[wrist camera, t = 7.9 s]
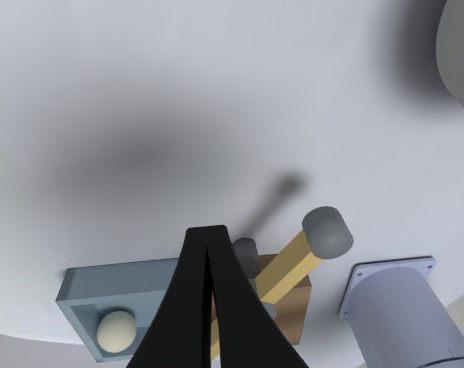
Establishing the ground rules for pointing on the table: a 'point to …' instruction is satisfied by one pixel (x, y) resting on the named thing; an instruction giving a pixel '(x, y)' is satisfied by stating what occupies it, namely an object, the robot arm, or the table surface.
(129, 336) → the ball
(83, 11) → the table surface
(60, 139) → the table surface
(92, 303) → the shallow square tray
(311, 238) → the lever
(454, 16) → the teacup
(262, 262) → the block
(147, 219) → the table surface
